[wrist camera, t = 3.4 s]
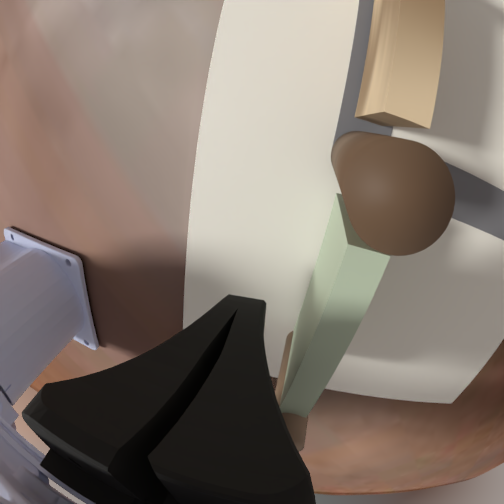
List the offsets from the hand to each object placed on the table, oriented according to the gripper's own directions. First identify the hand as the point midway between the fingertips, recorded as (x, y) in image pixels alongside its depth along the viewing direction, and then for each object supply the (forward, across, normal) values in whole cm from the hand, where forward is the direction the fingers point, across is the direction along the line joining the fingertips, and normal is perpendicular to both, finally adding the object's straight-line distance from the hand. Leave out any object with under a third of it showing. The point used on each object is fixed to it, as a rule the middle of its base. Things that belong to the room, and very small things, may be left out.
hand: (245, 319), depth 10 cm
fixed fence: (+3, -4, -10) cm, 11 cm away
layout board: (+3, -6, -5) cm, 9 cm away
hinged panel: (+2, -3, 0) cm, 3 cm away
